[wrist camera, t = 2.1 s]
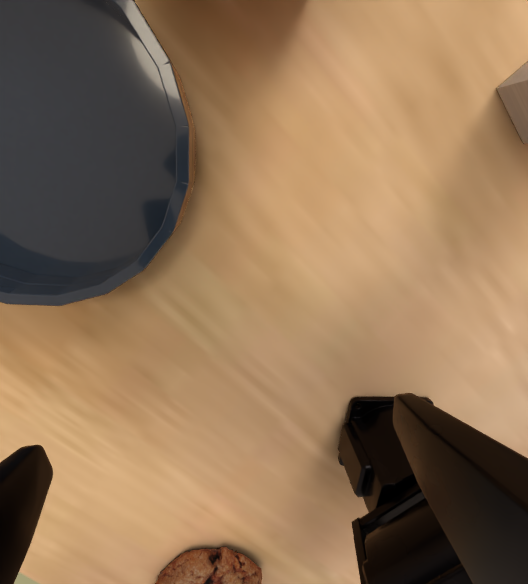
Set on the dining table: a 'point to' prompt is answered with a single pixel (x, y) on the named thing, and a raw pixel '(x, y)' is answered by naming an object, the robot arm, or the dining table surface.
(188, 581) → the cookie
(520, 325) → the dining table surface
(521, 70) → the grey rectangular block
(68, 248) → the dish
